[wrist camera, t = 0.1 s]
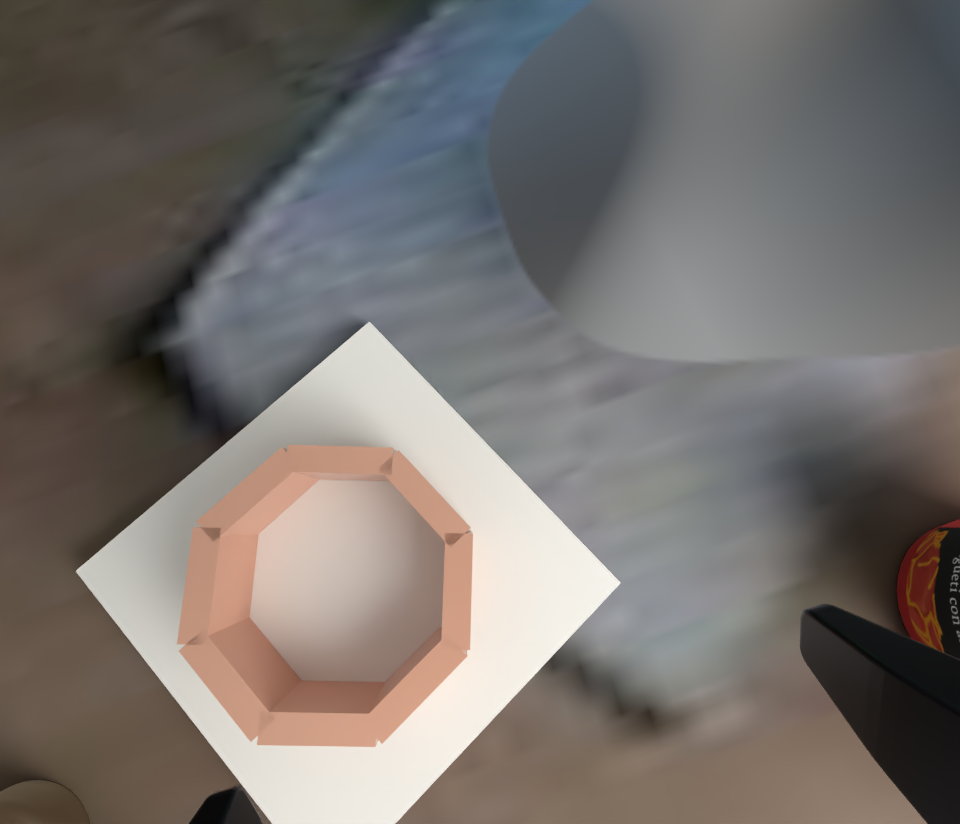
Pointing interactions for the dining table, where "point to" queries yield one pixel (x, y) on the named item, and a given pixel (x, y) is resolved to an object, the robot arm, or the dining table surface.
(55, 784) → the beech peg
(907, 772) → the robot arm
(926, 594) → the canned food
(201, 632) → the octagonal ring base
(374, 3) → the dining table surface
